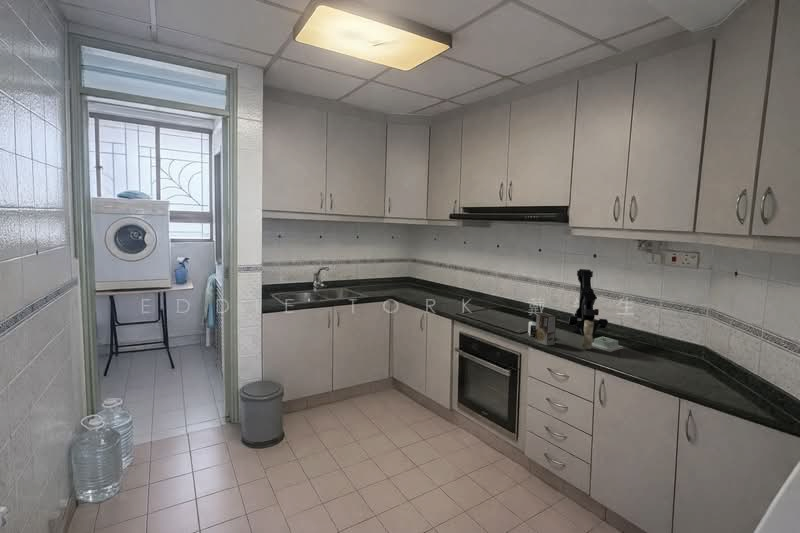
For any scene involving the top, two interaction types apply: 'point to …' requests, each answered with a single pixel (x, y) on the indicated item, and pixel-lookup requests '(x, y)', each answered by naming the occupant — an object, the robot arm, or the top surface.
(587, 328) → the birch peg
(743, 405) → the top surface
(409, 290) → the top surface
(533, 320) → the medicine bottle
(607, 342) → the socket collar
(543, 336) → the coffee box
